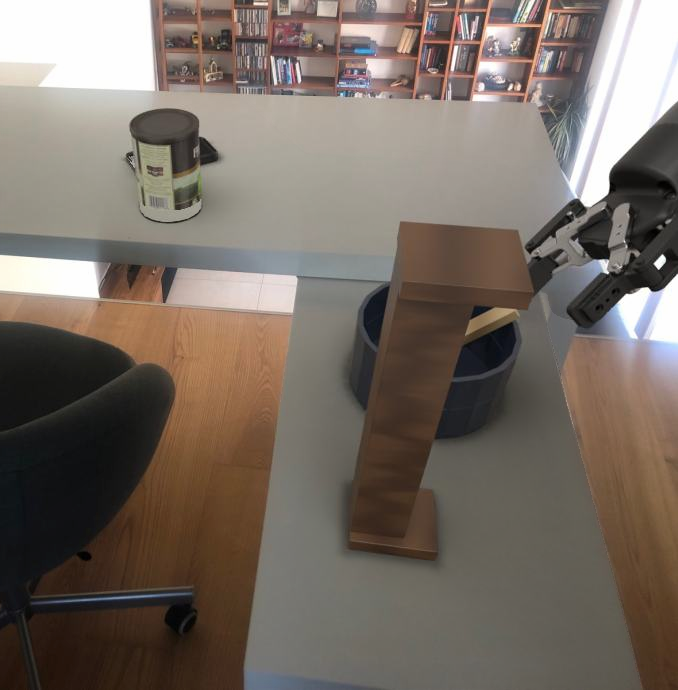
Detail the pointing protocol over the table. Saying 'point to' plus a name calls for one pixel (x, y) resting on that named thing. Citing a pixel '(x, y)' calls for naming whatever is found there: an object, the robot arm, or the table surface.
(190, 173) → the coffee can
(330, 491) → the table surface
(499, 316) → the t-shaped wooden block
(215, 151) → the phone
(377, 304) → the pot
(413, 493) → the stand
